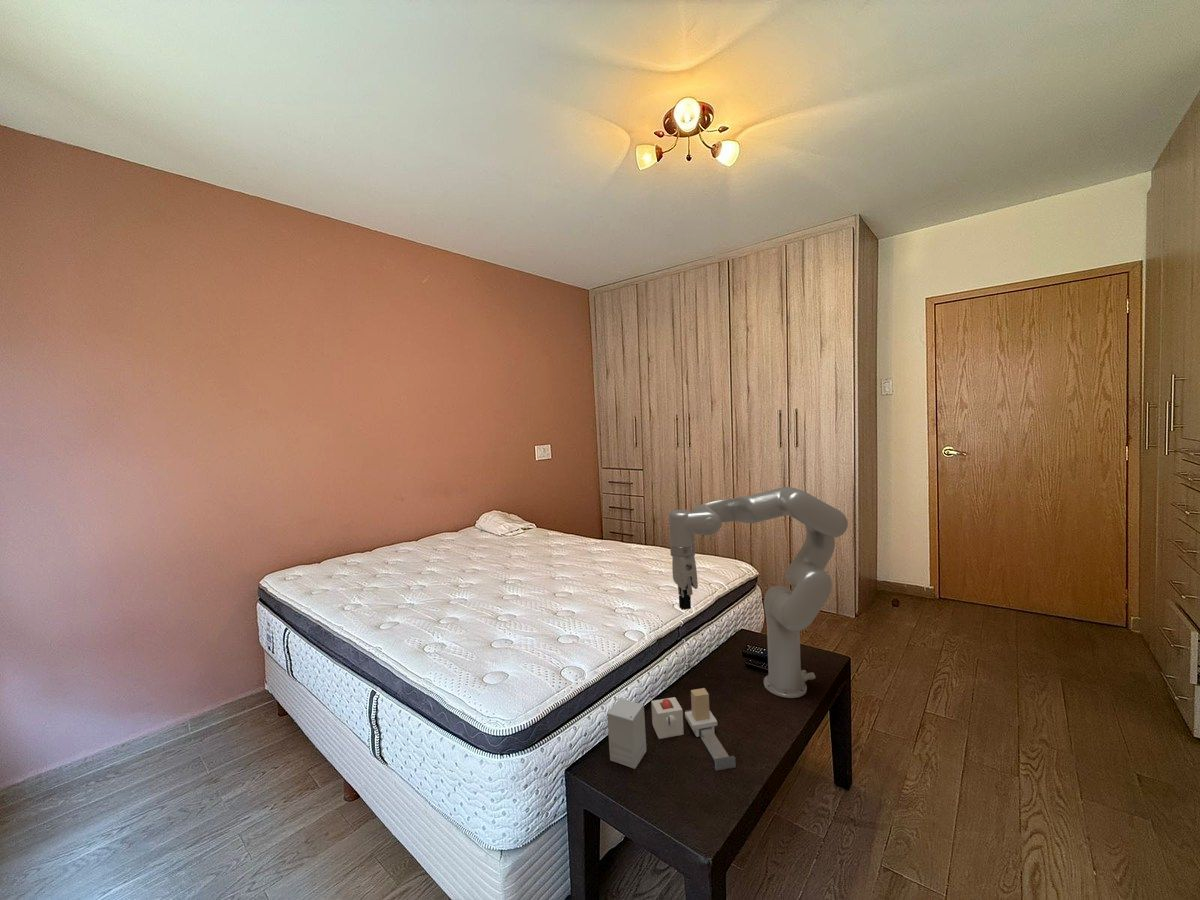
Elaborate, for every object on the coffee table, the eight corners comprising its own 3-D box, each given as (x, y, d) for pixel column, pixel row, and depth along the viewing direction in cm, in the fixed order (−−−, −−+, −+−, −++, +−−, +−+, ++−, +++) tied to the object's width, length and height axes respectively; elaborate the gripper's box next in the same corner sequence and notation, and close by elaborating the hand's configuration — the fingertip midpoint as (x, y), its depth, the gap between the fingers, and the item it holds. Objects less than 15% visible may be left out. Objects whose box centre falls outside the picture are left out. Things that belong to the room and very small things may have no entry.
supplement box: (647, 751, 119) (645, 704, 118) (634, 770, 113) (632, 720, 112) (622, 742, 123) (619, 696, 122) (608, 760, 116) (606, 712, 116)
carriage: (708, 719, 130) (707, 684, 130) (717, 733, 124) (716, 696, 124) (685, 723, 129) (683, 688, 128) (693, 737, 123) (691, 700, 122)
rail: (702, 715, 132) (701, 707, 132) (735, 767, 112) (735, 757, 112) (685, 718, 131) (685, 710, 131) (716, 770, 111) (716, 761, 111)
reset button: (669, 715, 128) (668, 698, 128) (672, 720, 126) (671, 703, 126) (662, 717, 128) (661, 699, 127) (664, 722, 126) (663, 704, 125)
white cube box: (676, 720, 131) (675, 697, 130) (684, 736, 124) (683, 711, 124) (652, 724, 129) (651, 700, 129) (659, 740, 123) (658, 715, 122)
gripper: (703, 555, 135) (706, 616, 136) (685, 543, 149) (687, 598, 150) (679, 558, 133) (682, 619, 134) (663, 545, 148) (665, 601, 149)
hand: (685, 608), depth 142 cm, fingers closed
